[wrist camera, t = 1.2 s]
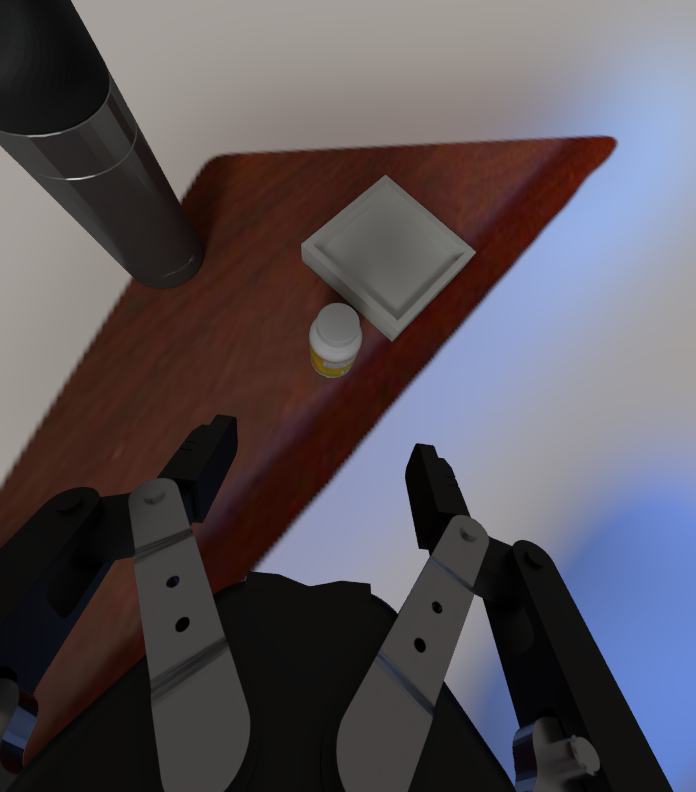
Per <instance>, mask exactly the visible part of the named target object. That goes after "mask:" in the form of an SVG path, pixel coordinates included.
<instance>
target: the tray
mask: <svg viewBox="0 0 696 792" xmlns="http://www.w3.org/2000/svg"><path fill="white" fill-rule="evenodd" d="M301 249H302V261H303V262H304V263H305V264H306V265H308V266H309V267H310V268H311V269H312V270H313V271H314V272H315V273H316V274H318V275H319V276H320V277H321V278H322V279H323V280H324V281H325V282H326V283H328V284H329V285H330V286H331V287H332V288H333V289H334V290H335V291H336V292H338V293H339V294H340V295H341V296H342V297H343V298H344V299H345V300H346V301H348V302H349V303H350V304H351V305H352V306H353V307H354V308H355V309H356V310H358V311H359V312H360V313H361V314H362V315H363V316H364V317H365V318H366V319H367V320H369V321H370V322H371V323H372V324H373V325H374V326H375V327H376V328H377V329H379V330H380V331H381V332H382V333H383V334H384V335H385V336H386V337H387V338H389V339H390V340H391V341H393V340H394V339H395V338H396V337H397V336H398V335H399V334H400V333H401V332H402V331H403V330H404V329H405V328H406V327H407V326H408V325H409V324H410V323H411V322H412V321H413V320H414V318H415V317H416V316H417V315H418V314H419V313H420V312H421V311H422V310H423V309H424V308H425V307H426V306H427V305H428V304H429V303H430V302H431V301H432V300H433V299H434V298H435V297H436V296H437V295H438V294H439V293H440V291H441V290H442V289H443V288H444V287H445V286H446V285H447V284H448V283H449V282H450V281H451V280H452V279H453V278H454V277H455V276H456V275H457V274H458V273H459V272H460V271H461V270H462V269H463V268H464V267H465V265H466V264H467V263H468V261H469V260H470V259H471V258H472V256H473V255H474V254H475V253H476V252H475V251H474V250H473V249H472V248H471V247H470V246H468V245H467V244H466V243H465V242H464V241H463V240H461V239H460V238H459V237H458V236H457V235H456V234H454V233H453V232H452V231H451V230H450V229H449V228H447V227H446V226H445V225H444V224H443V223H442V222H440V221H439V220H438V219H437V218H436V217H435V216H433V215H432V214H431V213H430V212H429V211H428V210H426V209H425V208H424V207H423V206H422V205H421V204H419V203H418V202H417V201H416V200H415V199H414V198H412V197H411V196H410V195H409V194H408V193H407V192H405V191H404V190H403V189H402V188H401V187H400V186H398V185H397V184H396V183H395V182H394V181H393V180H391V179H390V178H389V177H388V176H387V175H385V176H383V177H382V178H381V179H380V180H379V181H377V182H376V183H375V184H374V185H372V186H371V187H370V188H369V189H368V190H366V191H365V192H364V193H363V194H362V195H360V196H359V197H358V198H357V199H356V200H354V201H353V202H352V203H351V204H349V205H348V206H347V207H346V208H345V209H343V210H342V211H341V212H340V213H339V214H337V215H336V216H335V217H334V218H333V219H331V220H330V221H329V222H328V223H326V224H325V225H324V226H323V227H322V228H320V229H319V230H318V231H317V232H316V233H314V234H313V235H312V236H311V237H310V238H308V239H307V240H306V241H305V242H303V243H302V244H301Z"/></svg>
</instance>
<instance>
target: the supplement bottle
mask: <svg viewBox="0 0 696 792" xmlns="http://www.w3.org/2000/svg"><path fill="white" fill-rule="evenodd" d="M309 340H310V359H311V363H312V365H313V367H314V368H315V370H316V371H317V372H318V373H320V374H321V375H323V376H326V377H331V378H335V377H340V376H342V375H344V374H346V373H347V372H348V371H349V370H350V369H351V367H352V365H353V363H354V361H355V358H356V356H357V353H358V351H359V348H360V346H361V342H362V331H361V328H360V322H359V317H358V315H357V313H356V312H355V311H354V310H353V309H352V308H351V307H350V306H348V305H346V304H342V303H332V304H329V305H327V306H325V307H324V308H323V309H322V310H321V311H320V313H319V315H318V317H317V318H316V319H315V320H314V322H313V323H312V325H311V328H310V334H309Z"/></svg>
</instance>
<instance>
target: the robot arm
mask: <svg viewBox="0 0 696 792" xmlns="http://www.w3.org/2000/svg"><path fill="white" fill-rule="evenodd" d="M0 146H1V147H2V148H3V149H5V151H6V152H8V154H9V155H10V156H12V157H13V159H14V160H16V161H17V162H18V163H19V164H20V165H21V166H22V167H23V168H24V169H25V170H26V171H27V172H28V173H29V174H30V175H31V176H32V177H33V178H34V179H35V180H36V181H37V182H38V183H39V184H40V185H41V186H42V187H43V188H44V189H45V190H46V191H47V192H48V193H49V194H50V195H51V196H52V197H53V198H54V199H55V200H56V201H57V202H58V203H59V204H60V205H61V206H62V207H63V208H64V209H65V210H66V211H67V212H68V213H69V214H70V215H71V216H72V217H73V218H74V219H75V220H76V221H77V222H78V223H79V224H80V225H81V226H82V227H83V228H85V230H86V231H87V232H88V233H89V234H90V235H91V236H92V237H93V238H94V239H95V240H96V241H97V242H98V243H99V244H100V245H101V246H102V247H103V248H104V249H105V250H106V251H107V252H108V253H109V254H110V255H111V256H112V257H113V258H114V259H115V260H116V261H117V262H118V263H119V264H120V265H121V266H122V267H123V268H124V269H125V270H126V271H127V272H128V273H129V274H130V275H131V276H132V277H134V278H135V279H136V280H137V281H139V282H140V283H142V284H145V285H147V286H150V287H156V288H168V287H173V286H177V285H179V284H182V283H184V282H185V281H187V280H189V279H190V278H191V277H192V276H193V275H194V274H195V273H196V272H197V270H198V269H199V268H200V265H201V263H202V258H203V250H202V246H201V243H200V241H199V239H198V237H197V235H196V233H195V231H194V230H193V228H192V226H191V224H190V222H189V220H188V218H187V216H186V214H185V212H184V210H183V209H182V207H181V205H180V203H179V201H178V199H177V197H176V196H175V194H174V192H173V190H172V188H171V186H170V184H169V182H168V180H167V179H166V177H165V175H164V173H163V171H162V169H161V167H160V166H159V164H158V162H157V160H156V158H155V156H154V154H153V152H152V150H151V149H150V147H149V145H148V143H147V141H146V140H145V138H144V135H143V134H142V132H141V130H140V128H139V126H138V124H137V122H136V120H135V119H134V117H133V115H132V113H131V111H130V110H129V108H128V106H127V104H126V102H125V100H124V98H123V96H122V94H121V93H120V91H119V89H118V87H117V85H116V83H115V82H114V79H113V78H112V76H111V74H110V72H109V70H108V68H107V66H106V64H105V62H104V60H103V58H102V56H101V55H100V53H99V51H98V49H97V47H96V45H95V43H94V42H93V40H92V38H91V36H90V34H89V32H88V31H87V29H86V27H85V25H84V23H83V22H82V20H81V18H80V16H79V14H78V13H77V11H76V9H75V7H74V5H73V3H72V2H71V0H0ZM237 447H238V437H237V419H236V417H232V416H225V415H216V416H215V418H214V419H213V421H212V422H211V424H210V425H203V424H202V425H201V426H199V427H198V428H196V429H195V430H193V431H191V433H190V434H189V435H188V437H187V438H186V439H185V442H183V443H182V445H181V446H180V448H179V450H177V452H176V453H175V454H174V456H173V457H172V458H171V460H170V461H169V462H168V464H167V465H166V466H165V468H164V469H163V470H162V472H161V473H160V474H159V476H158V477H157V478H156V479H153V480H150V481H147V482H145V483H143V484H141V485H140V486H138V487H137V488H136V489H135V490H134V491H133V492H132V493H127V494H121V495H113V496H106V497H100V496H99V493H98V492H97V491H96V490H95V489H93V488H89V487H78V488H73V489H69V490H66V491H64V492H61V493H59V494H57V495H56V496H54V497H52V498H51V499H50V500H48V501H47V502H46V503H45V504H44V505H43V506H42V507H41V508H40V509H39V510H38V511H37V512H36V513H35V514H34V515H33V516H32V517H31V518H30V519H29V520H28V521H27V522H26V523H25V524H24V525H23V526H22V527H21V528H20V529H19V531H18V532H17V533H16V534H15V535H14V536H13V537H12V538H11V539H10V540H9V541H8V542H7V543H6V544H5V545H4V546H3V547H2V548H1V549H0V792H673V790H672V788H671V786H670V784H669V782H668V780H667V778H666V776H665V775H664V773H663V771H662V769H661V767H660V765H659V763H658V761H657V759H656V757H655V755H654V754H653V752H652V750H651V748H650V746H649V744H648V742H647V740H646V738H645V736H644V734H643V732H642V731H641V729H640V727H639V725H638V723H637V721H636V719H635V717H634V715H633V713H632V711H631V710H630V708H629V706H628V704H627V702H626V700H625V698H624V696H623V694H622V692H621V690H620V689H619V687H618V685H617V683H616V681H615V679H614V677H613V675H612V673H611V671H610V669H609V667H608V666H607V664H606V662H605V660H604V658H603V656H602V654H601V652H600V650H599V648H598V646H597V645H596V643H595V641H594V639H593V637H592V635H591V633H590V631H589V629H588V627H587V626H586V623H585V622H584V620H583V618H582V616H581V614H580V612H579V610H578V608H577V606H576V604H575V603H574V601H573V599H572V597H571V595H570V593H569V591H568V589H567V587H566V585H565V583H564V581H563V580H562V578H561V576H560V574H559V572H558V570H557V568H556V566H555V564H554V562H553V561H552V559H551V558H550V556H549V555H548V554H547V553H546V552H545V551H544V550H543V549H542V548H540V547H539V546H537V545H536V544H534V543H532V542H529V541H526V540H519V541H517V542H515V543H514V545H513V546H510V545H508V544H506V543H503V542H501V541H498V540H496V539H493V538H491V537H489V536H488V534H487V532H486V531H485V529H484V528H483V527H482V525H481V524H480V523H478V522H477V521H476V520H474V519H472V518H471V516H470V514H469V512H468V509H467V506H466V503H465V501H464V498H463V496H462V493H461V491H460V488H459V487H458V483H457V481H456V479H455V475H454V473H453V470H452V468H451V466H450V465H449V464H448V463H447V462H446V460H445V459H444V458H438V455H437V453H436V450H435V447H434V446H433V445H426V444H419V443H417V444H416V445H415V447H414V449H413V451H412V454H411V457H410V459H409V462H408V464H407V467H406V473H405V480H406V486H407V491H408V496H409V501H410V506H411V511H412V516H413V521H414V527H415V532H416V537H417V542H418V547H419V549H426V550H429V555H430V557H429V559H428V561H427V563H426V565H425V566H424V568H423V570H422V572H421V573H420V575H419V577H418V579H417V581H416V582H415V584H414V586H413V588H412V590H411V592H410V593H409V595H408V597H407V599H406V600H405V602H404V604H403V606H402V607H401V609H400V611H399V613H398V614H397V613H396V611H395V610H394V609H393V608H392V607H390V605H388V604H387V603H386V602H384V601H383V600H382V599H380V598H378V597H377V596H375V595H373V594H371V586H370V584H368V583H359V582H349V581H337V582H332V583H327V584H321V585H315V586H307V585H304V584H302V583H299V582H297V581H294V580H292V579H289V578H287V577H284V576H282V575H279V574H271V573H261V572H251V571H248V574H247V578H246V581H243V582H238V583H235V584H232V585H230V586H228V587H225V588H223V589H221V590H220V591H218V592H216V593H215V594H213V595H212V593H211V589H210V586H209V583H208V580H207V576H206V573H205V570H204V567H203V563H202V560H201V557H200V554H199V550H198V547H197V544H196V541H195V537H194V534H193V531H192V530H191V528H190V527H191V525H192V523H193V522H196V523H203V522H204V520H205V518H206V516H207V514H208V511H209V509H210V507H211V505H212V503H213V501H214V499H215V497H216V495H217V493H218V491H219V489H220V487H221V485H222V483H223V481H224V479H225V477H226V475H227V472H228V470H229V468H230V466H231V464H232V462H233V460H234V458H235V456H236V452H237ZM129 557H134V567H135V574H136V581H137V588H138V596H139V603H140V610H141V617H142V625H143V632H144V639H145V646H146V654H145V655H144V656H143V657H142V658H141V659H140V660H139V661H138V662H137V663H136V664H134V665H133V666H132V667H131V668H130V669H129V670H128V671H127V672H126V673H124V674H123V675H122V676H121V677H120V678H119V679H118V680H117V681H116V682H114V683H113V684H112V685H111V686H110V687H109V688H108V689H107V690H106V691H104V692H103V693H102V694H101V695H100V696H99V697H98V698H97V699H96V700H95V701H93V702H92V703H91V704H90V705H89V706H88V707H87V708H86V709H85V710H83V711H82V712H81V713H80V714H79V715H78V716H77V717H76V718H75V719H73V720H72V721H71V722H70V723H69V724H68V725H67V726H66V727H65V728H63V729H62V730H61V731H60V732H59V733H58V734H57V735H56V736H55V737H54V738H52V739H51V740H50V741H49V742H48V743H47V744H46V745H45V746H44V747H43V748H42V749H41V750H40V751H39V752H38V753H37V754H36V755H35V756H34V757H33V758H32V759H31V760H30V761H29V762H28V763H27V764H26V766H25V767H24V768H23V754H24V749H25V746H26V743H27V741H28V738H29V736H30V734H31V732H32V730H33V728H34V725H35V723H36V720H37V715H38V703H37V700H36V698H35V697H34V696H33V695H31V694H32V693H33V691H34V690H35V688H36V686H37V685H38V683H39V682H40V680H41V678H42V677H43V675H44V674H45V672H46V670H47V669H48V667H49V666H50V664H51V662H52V661H53V659H54V657H55V656H56V654H57V653H58V651H59V649H60V648H61V646H62V645H63V643H64V641H65V640H66V638H67V637H68V635H69V633H70V632H71V630H72V629H73V627H74V625H75V624H76V622H77V620H78V619H79V617H80V616H81V614H82V612H83V611H84V609H85V608H86V606H87V604H88V603H89V601H90V600H91V598H92V596H93V595H94V593H95V592H96V590H97V588H98V587H99V585H100V584H101V582H102V580H103V579H104V577H105V575H106V574H107V572H108V571H109V569H110V567H111V566H112V564H113V563H114V561H115V560H119V559H124V558H129ZM474 594H475V595H478V596H479V597H482V598H483V601H484V604H485V608H486V612H487V615H488V619H489V622H490V626H491V629H492V633H493V636H494V640H495V643H496V647H497V650H498V654H499V657H500V660H501V664H502V667H503V671H504V674H505V678H506V681H507V685H508V688H509V692H510V695H511V699H512V702H513V706H514V709H515V712H516V716H517V720H518V723H519V727H520V729H518V730H517V732H516V733H515V736H514V738H513V746H512V748H513V758H514V768H515V772H516V780H515V786H513V784H512V782H511V780H510V779H509V777H508V775H507V773H506V772H505V770H504V769H503V768H502V766H501V764H500V763H499V762H498V760H497V759H496V757H495V756H494V754H493V753H492V751H491V750H490V748H489V747H488V745H487V744H486V742H485V741H484V739H483V738H482V736H481V735H480V733H479V732H478V731H477V729H476V728H475V726H474V725H473V723H472V722H471V720H470V719H469V717H468V716H467V714H466V713H465V711H464V710H463V708H462V707H461V706H460V704H459V702H458V701H457V700H456V698H455V697H454V695H453V694H452V692H451V691H450V689H449V688H448V686H447V685H446V683H445V682H444V678H445V675H446V672H447V670H448V667H449V664H450V661H451V658H452V656H453V653H454V650H455V647H456V644H457V641H458V639H459V636H460V633H461V631H462V627H463V625H464V622H465V619H466V616H467V613H468V611H469V608H470V605H471V603H472V600H473V597H474Z"/></svg>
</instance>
